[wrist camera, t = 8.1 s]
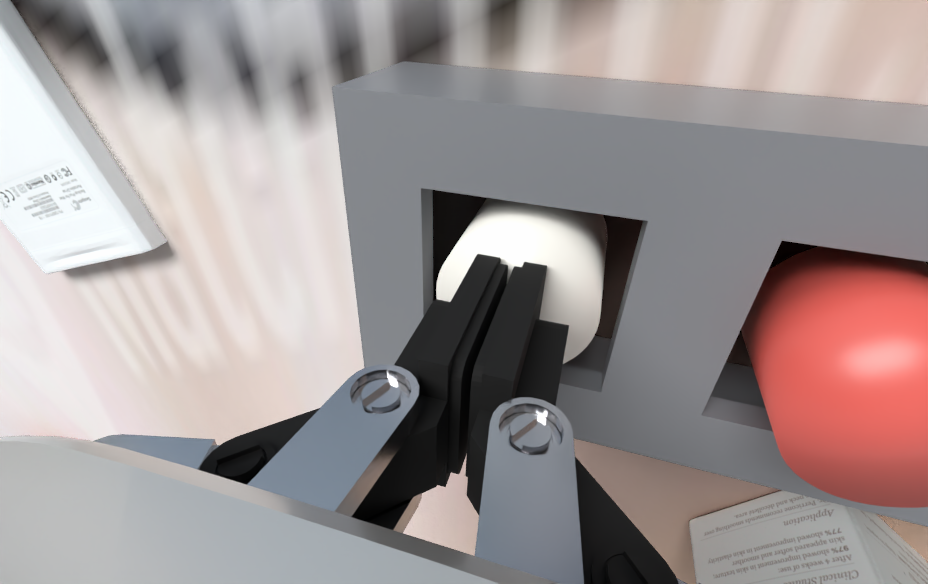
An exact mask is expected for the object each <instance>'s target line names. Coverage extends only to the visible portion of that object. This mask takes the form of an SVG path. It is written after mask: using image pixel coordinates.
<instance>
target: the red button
mask: <svg viewBox="0 0 928 584" xmlns="http://www.w3.org/2000/svg"><path fill="white" fill-rule="evenodd" d="M741 331H742V335H743V338H744V341H745V344H746V347H747V351H748V354H749V357H750V360H751V363H752V366H753V370H754V373H755V376H756V379H757V382H758V385H759V389H760V392H761V395H762V398H763V401H764V404H765V408H766V411H767V414H768V417H769V420H770V423H771V426H772V430H773V433H774V436H775V439H776V442H777V445H778V448H779V451H780V453H781V456H782V458H783V459H784V461H785V462H786V464H787V465H788V466H789V467H790V468H791V469H792V471H793V472H794V473H795V474H797V475H798V476H799V477H800V478H802V479H803V480H804V481H806V482H807V483H809V484H811V485H812V486H814V487H816V488H818V489H820V490H822V491H824V492H826V493H829V494H831V495H834V496H837V497H840V498H843V499H847V500H850V501H854V502H859V503H864V504H869V505H876V506H884V507H899V508H920V507H928V265H927V264H926V263H925V262H924V261H919V260H912V259H905V258H898V257H891V256H885V255H878V254H871V253H864V252H857V251H850V250H843V249H836V248H830V247H823V246H820V247H816V248H813V249H810V250H807V251H804V252H802V253H799V254H797V255H794V256H792V257H790V258H788V259H786V260H784V261H783V262H781V263H780V264H778V265H776V266H775V267H773V268H772V269H771V270H770V271H768V272H767V274H766V276H765V278H764V280H763V283H762V285H761V287H760V289H759V291H758V293H757V296H756V298H755V300H754V302H753V304H752V306H751V309H750V311H749V313H748V315H747V317H746V319H745V322H744V324H743V326H742V328H741Z"/></svg>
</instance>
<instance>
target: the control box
mask: <svg viewBox="0 0 928 584" xmlns="http://www.w3.org/2000/svg"><path fill="white" fill-rule="evenodd" d="M332 91H333V100H334V108H335V117H336V126H337V134H338V143H339V152H340V160H341V169H342V177H343V186H344V195H345V203H346V212H347V220H348V229H349V238H350V246H351V255H352V264H353V272H354V281H355V289H356V298H357V307H358V315H359V324H360V333H361V341H362V350H363V358H364V367H365V368H366V367H370V366H374V365H394V364H395V362H396V361H397V359H398V358H399V356H400V354H401V353H402V351H403V349H404V348H405V346H406V345H407V343H408V341H409V340H410V338H411V336H412V335H413V333H414V332H415V330H416V328H417V327H418V325H419V323H420V322H421V320H422V318H423V317H424V315H425V314H426V312H427V310H428V309H429V307H430V305H431V304H432V303H433V190H438V191H445V192H452V193H458V194H465V195H472V196H479V197H486V198H493V199H500V200H507V201H513V202H520V203H527V204H534V205H541V206H548V207H555V208H562V209H568V210H575V211H582V212H589V213H596V214H603V215H610V216H617V217H623V218H630V219H637V220H643V223H642V227H641V230H640V234H639V238H638V242H637V245H636V249H635V253H634V256H633V260H632V264H631V268H630V271H629V275H628V279H627V282H626V286H625V290H624V294H623V297H622V301H621V305H620V308H619V312H618V316H617V320H616V323H615V327H614V331H613V334H612V338H611V339H609V338H604V337H599V336H594V337H593V339H592V341H591V342H590V343H589V345H588V346H587V347H586V348H585V349H584V350H583V351H582V352H581V353H580V354H579V355H577V356H576V357H574V358H573V359H571V360H569V361H568V362H566V363H564V364H563V365H562V371H561V377H560V383H559V389H558V394H557V400H556V407H557V408H558V409H559V410H560V411H562V412H563V413H564V414H565V416H566V417H567V419H568V420H569V422H570V423H571V427H572V431H573V438H575V439H579V440H583V441H587V442H591V443H595V444H599V445H603V446H607V447H611V448H615V449H619V450H623V451H627V452H631V453H635V454H639V455H643V456H647V457H651V458H655V459H659V460H663V461H667V462H671V463H675V464H679V465H683V466H687V467H691V468H695V469H699V470H703V471H707V472H711V473H715V474H719V475H723V476H727V477H731V478H735V479H739V480H743V481H747V482H751V483H755V484H759V485H763V486H767V487H771V488H775V489H779V490H783V491H787V492H791V493H795V494H799V495H803V496H807V497H811V498H815V499H819V500H823V501H827V502H831V503H835V504H839V505H843V506H847V507H851V508H855V509H859V510H863V511H867V512H871V513H875V514H879V515H883V516H887V517H891V518H895V519H899V520H903V521H907V522H911V523H915V524H919V525H923V526H927V527H928V507H920V508H899V507H884V506H876V505H869V504H864V503H859V502H854V501H850V500H847V499H843V498H840V497H837V496H834V495H831V494H829V493H826V492H824V491H822V490H820V489H818V488H816V487H814V486H812V485H811V484H809V483H807V482H806V481H804V480H803V479H802V478H800V477H799V476H798V475H797V474H795V473H794V472H793V471H792V469H791V468H790V467H789V466H788V465H787V464H786V462H785V461H784V459H783V458H782V456H781V453H780V451H779V448H778V445H777V442H776V439H775V436H774V433H773V430H772V426H771V423H770V420H769V417H768V414H767V411H766V408H765V404H764V401H763V398H762V395H761V392H760V389H759V385H758V382H757V379H756V376H755V373H754V370H753V367H748V366H743V365H738V364H733V363H728V362H726V360H727V358H728V356H729V354H730V352H731V350H732V347H733V345H734V343H735V341H736V339H737V337H738V334H739V332H740V330H741V328H742V326H743V324H744V322H745V319H746V317H747V315H748V313H749V311H750V309H751V306H752V304H753V302H754V300H755V298H756V296H757V293H758V291H759V289H760V287H761V285H762V283H763V280H764V278H765V276H766V274H767V272H768V270H769V267H770V265H771V263H772V261H773V259H774V257H775V254H776V252H777V250H778V248H779V246H780V244H781V241H788V242H795V243H802V244H809V245H816V246H823V247H830V248H836V249H843V250H850V251H857V252H864V253H871V254H878V255H885V256H891V257H898V258H905V259H912V260H919V261H926V262H928V105H917V104H905V103H893V102H881V101H869V100H857V99H845V98H834V97H822V96H810V95H798V94H786V93H774V92H762V91H750V90H738V89H726V88H714V87H702V86H690V85H678V84H666V83H654V82H643V81H631V80H619V79H607V78H595V77H583V76H571V75H559V74H547V73H535V72H523V71H511V70H499V69H487V68H475V67H463V66H452V65H440V64H428V63H416V62H401V63H398V64H395V65H392V66H390V67H387V68H384V69H381V70H378V71H375V72H373V73H370V74H367V75H364V76H361V77H359V78H356V79H353V80H350V81H347V82H344V83H342V84H339V85H336V86H333V87H332Z"/></svg>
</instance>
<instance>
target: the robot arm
mask: <svg viewBox="0 0 928 584" xmlns="http://www.w3.org/2000/svg"><path fill="white" fill-rule="evenodd" d="M500 263H501V259H500V257H494V256H488V255H482V254H477V255H476V257H475V259H474V261H473V262H472V264H471V266H470V268H469V270H468V271H467V273H466V275H465V277H464V278H463V280H462V282H461V284H460V286H459V287H458V289H457V291H456V293H455V295H454V296H453V298H452V300H451V302H448V301H443V300H438V299H436V300H434V301H433V303H432V304H431V305H430V307H429V309H428V310H427V312H426V314H425V315H424V317H423V318H422V320H421V322H420V323H419V325H418V327H417V328H416V330H415V332H414V333H413V335H412V336H411V338H410V340H409V341H408V343H407V345H406V346H405V348H404V349H403V351H402V353H401V354H400V356H399V358H398V359H397V361H396V362H395V364H394V365H374V366H370V367H366V368H364V369H362V370H360V371H358V372H356V373H355V374H354V375H352V376H351V377H350V378H349V379H348V380H347V381H346V382H345V383H344V384H343V385H342V386H341V387H340V388H339V389H338V390H337V391H336V392H335V393H334V394H333V395H332V396H331V397H330V399H329V400H328V401H327V402H326V403H325V404H324V405H323V406H322V407H321V408H319V409H316V410H313V411H310V412H307V413H304V414H301V415H298V416H296V417H293V418H290V419H287V420H284V421H281V422H278V423H275V424H272V425H269V426H266V427H264V428H261V429H258V430H255V431H252V432H249V433H246V434H243V435H240V436H237V437H235V438H233V439H231V440H229V441H226V442H224V443H223V444H221V445H217V444H216V442H215V439H197V438H179V437H161V436H143V435H125V434H122V435H111V436H107V437H104V438H101V439H98V440H95V441H90V440H82V439H75V438H67V437H57V436H30V435H23V436H9V437H0V584H687V583H685V582H683V581H681V580H679V579H677V578H676V576H675V574H674V573H673V571H672V570H671V569H670V567H669V566H668V564H667V563H666V561H665V560H664V559H663V558H662V557H661V555H660V554H659V553H658V552H657V551H656V550H655V548H654V547H653V546H652V545H651V544H650V543H649V542H648V540H647V539H646V538H645V537H644V536H643V535H642V533H641V532H640V531H639V530H638V529H637V528H636V527H635V525H634V524H633V523H632V522H631V521H630V520H629V518H628V517H627V516H626V515H625V514H624V513H623V511H622V510H621V509H620V508H619V507H618V506H617V505H616V503H615V502H614V501H613V500H612V499H611V498H610V496H609V495H608V494H607V493H606V492H605V491H604V490H603V488H602V487H601V486H600V485H599V484H598V483H597V481H596V480H595V479H594V478H593V477H592V476H591V474H590V473H589V472H588V471H587V470H586V469H585V468H584V466H583V465H582V464H581V463H580V462H579V461H578V459H577V458H576V457H575V452H574V439H573V431H572V427H571V423H570V422H569V420H568V419H567V417H566V416H565V414H564V413H563V412H562V411H560V410H559V409H558V408H557V407H556V400H557V394H558V389H559V383H560V377H561V371H562V365H563V359H564V353H565V348H566V342H567V336H568V330H569V325H565V324H560V323H555V322H550V321H545V320H540V319H539V318H540V311H541V305H542V298H543V292H544V285H545V279H546V272H547V265H541V264H535V263H529V262H524V263H523V266H522V267H517V266H514V268H513V270H512V273H511V275H510V278H509V280H508V283H507V275H508V265H505V264H500ZM466 454H467V460H466V477H468V485H467V496H468V498H469V500H470V501H471V503H472V505H473V506H474V508H475V510H476V511H477V513H478V515H479V523H478V532H477V541H476V549H475V556H473V555H469V554H466V553H463V552H460V551H457V550H454V549H451V548H447V547H444V546H441V545H438V544H435V543H432V542H428V541H425V540H422V539H419V538H416V537H413V536H409V535H406V534H403V531H404V530H405V528H406V526H407V524H408V523H409V521H410V519H411V518H412V516H413V514H414V513H415V511H416V509H417V507H418V505H419V503H420V500H421V498H422V493H423V492H426V491H428V490H430V489H432V488H434V487H436V486H437V485H440V486H444V487H446V484H447V481H448V479H449V476H450V473H451V472H452V473H456V474H459V473H460V471H461V468H462V465H463V462H464V459H465V456H466ZM698 584H701V583H698Z"/></svg>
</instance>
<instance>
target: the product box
mask: <svg viewBox="0 0 928 584" xmlns="http://www.w3.org/2000/svg"><path fill="white" fill-rule="evenodd" d="M689 529H690V537H691V545H692V552H693V561H694V568H695V577H696V584H698V583H701V584H928V563H927V562H926V560H925V559H924V558H923V557H922V556H921V555H920V554H919V553H917V552H916V551H915V550H914V549H913V548H912V547H911V546H910V545H909V544H908V543H907V542H905V541H904V540H903V539H902V538H901V537H900V536H899V535H898V534H897V533H896V532H895V531H894V530H893V529H891V528H890V527H889V526H888V525H887V524H886V523H885V522H884V521H883V520H882V519H881V518H880V517H879V516H878V515H876V514H875V513H871V512H867V511H863V510H859V509H855V508H851V507H847V506H843V505H839V504H835V503H831V502H827V501H823V500H819V499H815V498H811V497H807V496H803V495H799V494H795V493H791V492H787V491H783V490H781V491H778V492H775V493H772V494H769V495H766V496H763V497H760V498H757V499H754V500H751V501H748V502H744V503H741V504H738V505H735V506H732V507H729V508H726V509H723V510H720V511H717V512H713V513H710V514H707V515H704V516H701V517H697V518H694V519H692V520H690V522H689Z"/></svg>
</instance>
